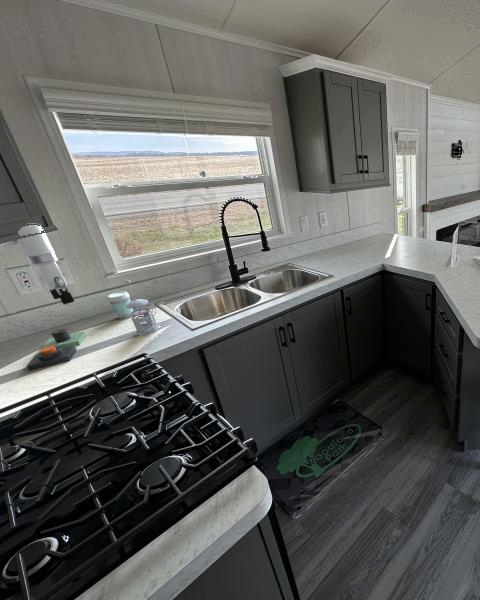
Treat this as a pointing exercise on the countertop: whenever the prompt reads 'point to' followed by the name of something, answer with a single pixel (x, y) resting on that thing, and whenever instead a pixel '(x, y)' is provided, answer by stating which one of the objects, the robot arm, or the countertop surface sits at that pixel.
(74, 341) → the dial panel
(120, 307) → the coffee cup
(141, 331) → the french press
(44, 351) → the button
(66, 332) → the temp dial
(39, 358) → the kettle base
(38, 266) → the robot arm
